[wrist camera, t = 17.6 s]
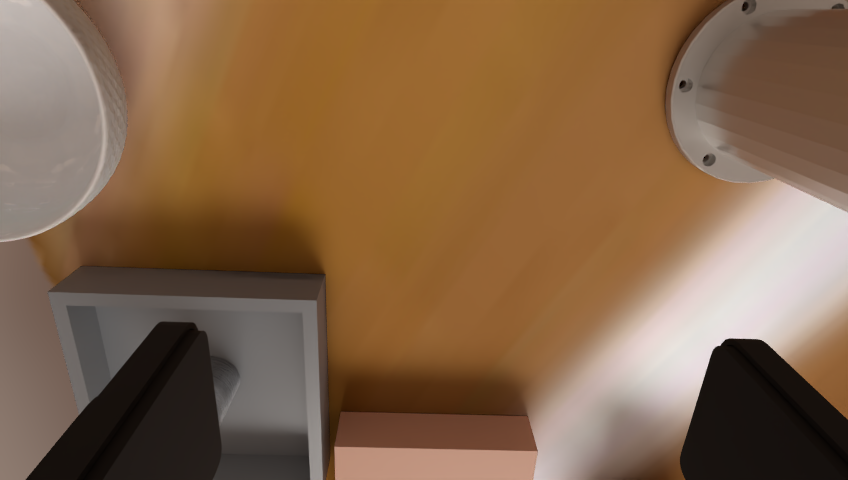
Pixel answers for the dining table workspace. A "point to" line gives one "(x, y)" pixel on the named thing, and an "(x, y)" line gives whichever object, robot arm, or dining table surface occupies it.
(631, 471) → the dining table surface
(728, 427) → the robot arm
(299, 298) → the tray
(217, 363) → the pin
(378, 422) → the hitch block
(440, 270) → the dining table surface
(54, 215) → the cereal bowl
